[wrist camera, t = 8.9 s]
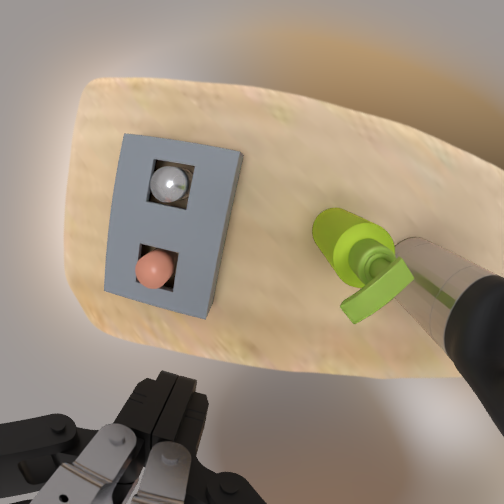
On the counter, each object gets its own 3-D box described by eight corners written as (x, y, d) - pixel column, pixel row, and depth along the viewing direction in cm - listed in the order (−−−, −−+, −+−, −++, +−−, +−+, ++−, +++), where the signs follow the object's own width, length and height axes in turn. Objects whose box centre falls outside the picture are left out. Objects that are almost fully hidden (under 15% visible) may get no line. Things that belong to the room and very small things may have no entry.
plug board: (243, 155, 37) (240, 151, 32) (212, 303, 41) (205, 319, 37) (140, 137, 37) (124, 133, 32) (120, 278, 41) (104, 290, 36)
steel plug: (198, 170, 36) (187, 169, 32) (191, 202, 37) (180, 205, 33) (168, 165, 36) (153, 163, 32) (162, 195, 37) (147, 198, 33)
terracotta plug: (181, 249, 38) (169, 259, 33) (177, 278, 39) (165, 292, 34) (152, 242, 38) (137, 251, 33) (148, 271, 39) (133, 284, 34)
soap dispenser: (296, 232, 38) (323, 287, 19) (338, 198, 37) (405, 220, 18) (324, 267, 39) (369, 345, 20) (364, 234, 38) (443, 285, 19)
